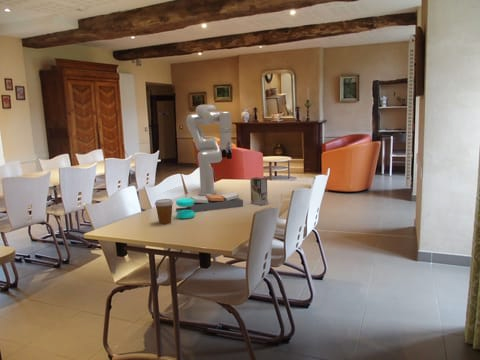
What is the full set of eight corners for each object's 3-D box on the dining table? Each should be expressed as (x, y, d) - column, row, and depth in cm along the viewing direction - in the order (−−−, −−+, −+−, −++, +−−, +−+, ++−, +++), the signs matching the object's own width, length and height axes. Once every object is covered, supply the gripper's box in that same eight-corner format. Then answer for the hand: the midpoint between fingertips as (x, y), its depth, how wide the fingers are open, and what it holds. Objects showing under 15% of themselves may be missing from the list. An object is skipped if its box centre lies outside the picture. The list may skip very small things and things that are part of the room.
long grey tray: (174, 209, 243) (173, 202, 242) (235, 202, 257) (235, 195, 256) (178, 214, 231) (178, 206, 230) (243, 206, 245) (242, 198, 244)
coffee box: (268, 203, 251) (267, 178, 248) (261, 205, 246) (261, 179, 244) (257, 201, 257) (256, 177, 254) (250, 203, 252) (249, 178, 250)
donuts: (181, 197, 228) (197, 198, 225) (182, 214, 230) (197, 215, 226) (172, 200, 219) (188, 201, 216) (173, 218, 221) (189, 219, 217)
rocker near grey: (190, 199, 244) (190, 196, 244) (202, 199, 247) (203, 197, 247) (194, 202, 235) (195, 199, 234) (207, 203, 238) (208, 200, 237)
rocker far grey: (221, 197, 252) (220, 195, 251) (232, 194, 254) (232, 191, 254) (226, 200, 242) (226, 198, 242) (238, 197, 245) (238, 194, 244)
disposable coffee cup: (158, 220, 217) (157, 199, 215) (175, 220, 217) (174, 198, 215) (154, 225, 208) (152, 202, 206) (172, 225, 208) (170, 202, 206)
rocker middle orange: (206, 197, 248) (206, 194, 248) (218, 197, 251) (218, 195, 251) (211, 200, 238) (211, 197, 238) (223, 200, 241) (223, 197, 241)
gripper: (215, 131, 260) (216, 157, 263) (224, 131, 244) (225, 159, 247) (226, 130, 263) (227, 156, 266) (236, 131, 247) (236, 158, 250)
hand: (226, 158), depth 256 cm, fingers open, 9 cm apart
